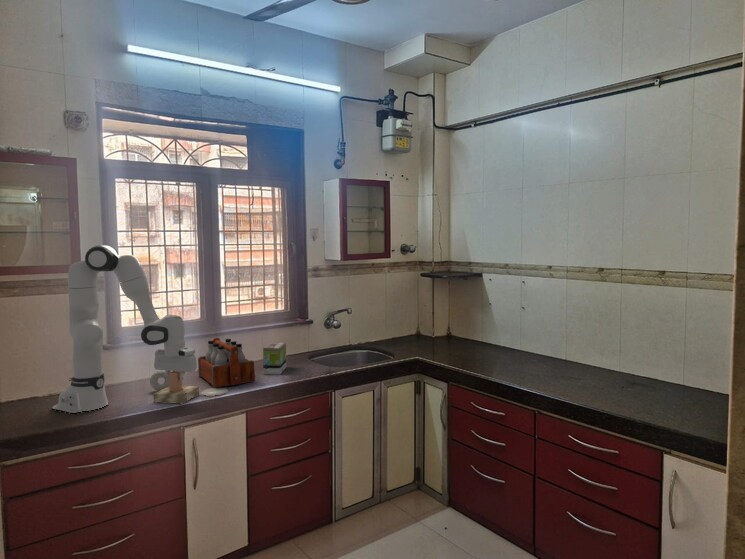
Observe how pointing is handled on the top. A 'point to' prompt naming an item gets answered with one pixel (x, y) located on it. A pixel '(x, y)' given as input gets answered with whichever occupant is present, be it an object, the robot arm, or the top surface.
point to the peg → (174, 381)
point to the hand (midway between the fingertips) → (175, 380)
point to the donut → (155, 378)
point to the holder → (176, 395)
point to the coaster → (214, 391)
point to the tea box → (274, 358)
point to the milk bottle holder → (225, 364)
